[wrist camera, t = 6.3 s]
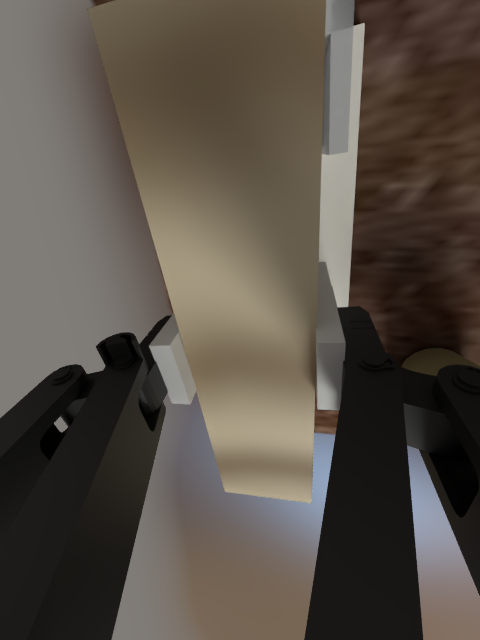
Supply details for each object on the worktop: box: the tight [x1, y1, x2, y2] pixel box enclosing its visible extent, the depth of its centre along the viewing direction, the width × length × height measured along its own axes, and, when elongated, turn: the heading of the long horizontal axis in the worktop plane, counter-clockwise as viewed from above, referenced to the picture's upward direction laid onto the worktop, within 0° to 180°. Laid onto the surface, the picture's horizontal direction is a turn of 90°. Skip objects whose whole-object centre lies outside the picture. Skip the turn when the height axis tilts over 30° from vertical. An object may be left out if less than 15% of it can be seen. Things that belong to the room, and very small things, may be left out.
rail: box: [87, 0, 326, 503], centre depth 13 cm, size 18×4×8 cm, turn 7°
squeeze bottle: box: [401, 348, 480, 376], centre depth 22 cm, size 8×8×18 cm
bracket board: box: [319, 0, 365, 307], centre depth 22 cm, size 24×12×7 cm, turn 9°
